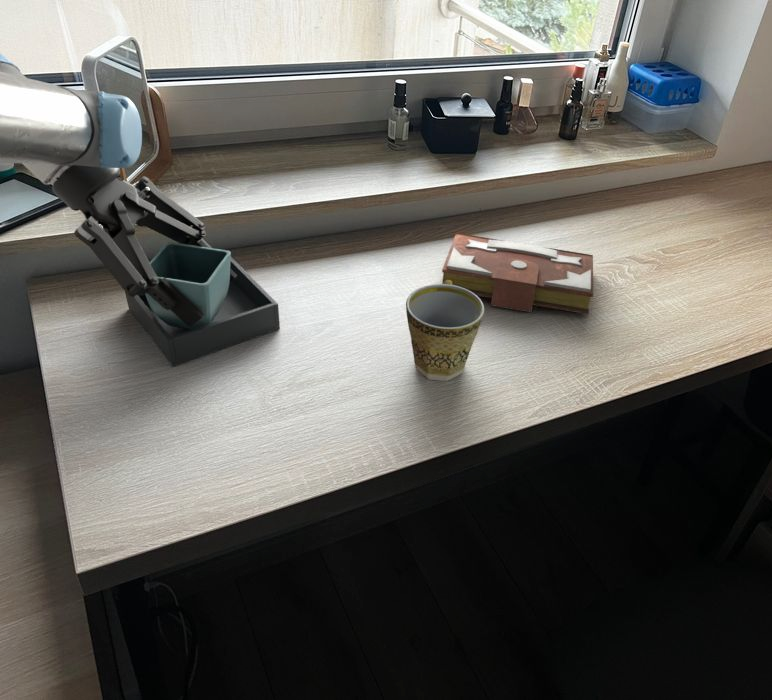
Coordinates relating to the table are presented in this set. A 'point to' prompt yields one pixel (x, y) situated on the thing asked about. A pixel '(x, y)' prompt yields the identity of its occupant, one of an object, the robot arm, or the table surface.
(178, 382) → the table surface
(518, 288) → the book
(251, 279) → the tote
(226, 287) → the flower pot
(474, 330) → the ceramic cup
